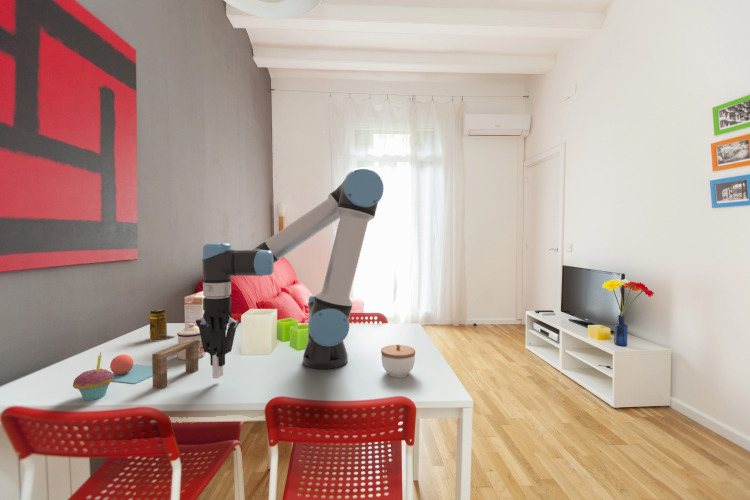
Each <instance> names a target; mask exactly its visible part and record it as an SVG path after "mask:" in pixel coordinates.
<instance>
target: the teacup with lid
mask: <svg viewBox="0 0 750 500" xmlns="http://www.w3.org/2000/svg"><path fill="white" fill-rule="evenodd" d="M176 335H177V344H179V343H182V342H184V341H187V340H190V339H191V340H198V359H200V358H203V357H204V356H206V353H205V352H204V349H203V345H202V340H201V335H200V331H199V327H198V326H195V324H194V323H191V324H189V325H188V327H186V328H185V327H184V328H183V329H180V330H178V332H177V334H176ZM177 357H178V359H179V360H182V361H186V350H185V349H184V350H182V351H179V352H177Z"/></svg>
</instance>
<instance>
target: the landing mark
mask: <svg viewBox="0 0 750 500" xmlns="http://www.w3.org/2000/svg"><path fill="white" fill-rule="evenodd" d="M169 369H170V367H167V370H169ZM112 374H113V376H114V377H113V379H112V382H115V383H124V384H131V385H136V384H138V383H140V382H143V381H145V380H147V379H150V378H151V377H152V378H153V371H152V365H145V364H133V367H132V369H131V370H130V371H129V372H128V373H126V374H122V375H117V374H115V373H113V372H112Z"/></svg>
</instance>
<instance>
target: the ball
mask: <svg viewBox="0 0 750 500" xmlns="http://www.w3.org/2000/svg"><path fill="white" fill-rule="evenodd" d="M109 365H110V366H109V368H110V372H111V373H112V374H113V373H115V374H117V375H122V374H126V373H128V372H129V371H130V370H131V369H132V367H133V365H135V364H134V359H133V357H132V356H131V355H128V354H124V353H123V354H118V355H116V356H115V357H114V358H112V360H111V362H110V364H109Z"/></svg>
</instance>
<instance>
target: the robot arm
mask: <svg viewBox="0 0 750 500" xmlns="http://www.w3.org/2000/svg"><path fill="white" fill-rule="evenodd" d="M383 194H384V182H383V180H382V178H381V176H380V175H379V174H378V173H377V172H376V171H374V170H372V169H370V168H367V167H360V168H355V169H353V170H351V171H350V172H349V173H348V174H347V175H346V176H345V178H344V180H343V182H342V183H341V184H340V185H339V186H338V187H337V188H336V189H335V190H333V191H332V192H330V193H329V194H328V195H327V196H328V197H327V198H326V199H325V200H324V201H322V202H321V203H319V204H318V205H317V206H315V207H313V208H312V209H311V210H309V211H307V212H306V213H305V214H303V215H302V216H300V217H299V218H297V219H296V220H295V221H293V222H291V223H290V224H289V225H287V226H286V227H284V228H283V229H281V230H280V231H278V232H277V233H275V234H273V235H272V236H271V237H269V238H268V239H266V240H265V241H263V242H262V243H260V244H259V245H257V246H255V247H254V248H253V249H248V250H247V249H246V250H245V249H244V250H243V249H242V250H237V249H232V247H231V244H230V243H228V242H227V243H223V242H222V243H218V242H217V243H216V242H215V243H214V242H213V243H212V242H211V243H206V244H203V248H202V258H201V261H202V291H203V296H205V298H204V299H203V310H204V314H203V317H202V318H201V319H198V320H196V324H197V326H198V327H199V331H200V335H201V340H202V345H203V349H204V352H205V354H206V353H208V354H209V355H210V362H209V363H210V366H211V367H212V379H219V378H221V377H223V376H224V366H225V365H226V355H227V354H229V353H231V352H232V349H233V344H234V342H235V341H234V340H235V335H236V332H237V331H236V330H237V328H238V326H239V324H240V321H239V320H235V319H234V318H233V315H232V313H231V309H232V297H231V296H230V295H232V277H237V276H238V277H239V276H241V277H243V276H244V277H245V276H246V277H247V276H251V277H252V276H255V277H256V276H258V277H263V276H271V275H273V273H274V266H275V265H274V264H275V263H276V262H278V261H279V260H281V259H282V258H283V257H285V256H286V255H288V254H289V253H291V252H292V251H294V250H295V249H297V248H298V247H299V246H301V245H303V244H304V243H306V242H307V241H308V240H310V239H312V238H313V237H314V236H316V235H317V234H319V233H320V232H322V231H323V230H325V229H326V228H328V227H329V226H330V225H332V224H333V223H335V222H336V221H338V220H339V221H338V225H337V229H336V232H335V236H334V241H333V245H332V249H331V252H330V253H331V254H330V255H329V256H330V257H329V262H328V266H327V267H326V268H327V269H326V273H325V276H324V282H323V284H322V289H321V291H320V292H319V293H317V294H315V295H313V294H312V295H310V296H309V297H308V301H307V306H308V314H307V315H308V316H307V317H308V321H307V324H308V326H307V327H308V334H307V336H308V341H307V343H306V345H305V349H304V353H303V356H302V358H303V359H302V363H303V365H304V366H306V367H308V368H311V369H317V370H328V369H335V368H341V367H342V366H345V365H346V364H347V363H348V358H349V357H348V352H347V348H346V345H345V342H344V340H345V339H346V338H347V337H348V334H349V332H350V316H351V313H352V309H353V302H352V301H351V298H350V295H351V291H352V288H353V284H354V280H355V275H356V271H357V267H358V263H359V259H360V256H361V255H360V254H361V251H362V248H363V243H364V239H365V236H366V232H367V228H368V223H369V222H370V221H372V220H373V219H375V216H376V211H377V208H378V203H379V202H380V201H381V199H382V198H383ZM207 324H208V325H207Z"/></svg>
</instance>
